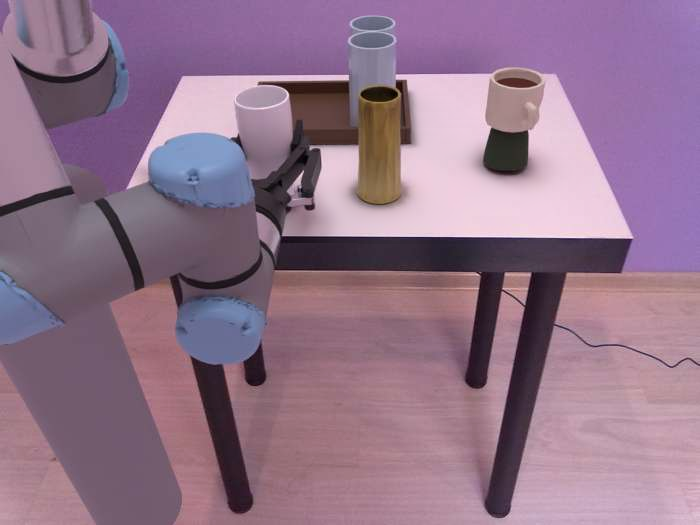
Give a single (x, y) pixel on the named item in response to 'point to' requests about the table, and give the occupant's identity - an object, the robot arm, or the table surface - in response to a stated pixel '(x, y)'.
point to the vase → (379, 144)
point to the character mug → (512, 116)
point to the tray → (333, 110)
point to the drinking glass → (264, 128)
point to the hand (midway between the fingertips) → (273, 129)
